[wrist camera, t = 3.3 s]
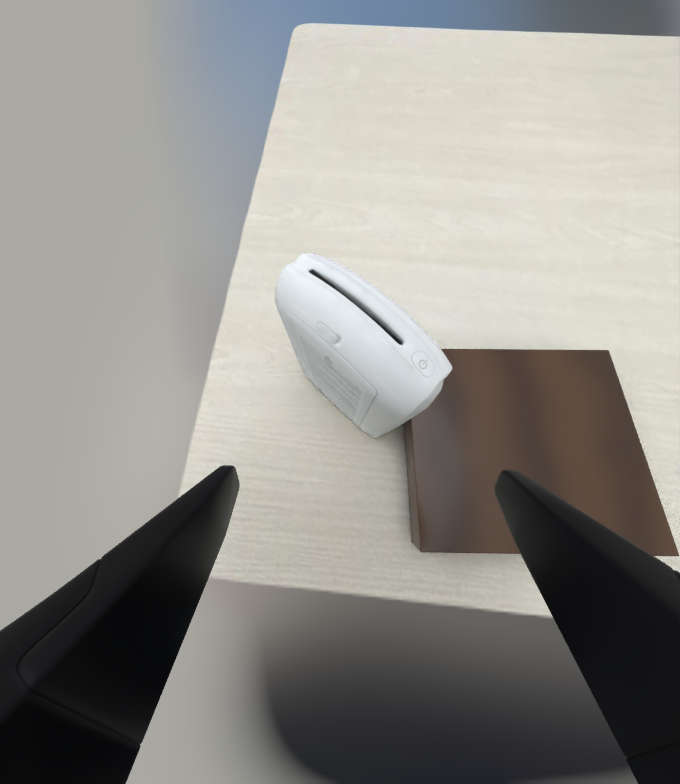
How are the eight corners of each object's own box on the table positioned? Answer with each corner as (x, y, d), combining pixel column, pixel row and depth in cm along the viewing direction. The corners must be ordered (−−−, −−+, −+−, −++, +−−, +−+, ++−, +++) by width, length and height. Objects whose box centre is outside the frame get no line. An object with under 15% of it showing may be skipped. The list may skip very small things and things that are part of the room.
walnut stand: (410, 541, 18) (420, 552, 16) (399, 360, 23) (405, 348, 20) (636, 544, 18) (680, 556, 16) (580, 362, 23) (609, 349, 20)
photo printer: (409, 412, 21) (493, 346, 10) (376, 448, 20) (424, 424, 9) (328, 339, 24) (313, 212, 12) (295, 368, 23) (244, 262, 11)
